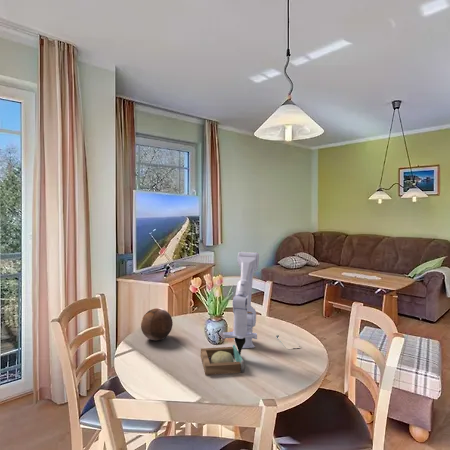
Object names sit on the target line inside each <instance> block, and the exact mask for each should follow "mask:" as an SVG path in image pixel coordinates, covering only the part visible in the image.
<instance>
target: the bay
mask: <svg viewBox="0 0 450 450" xmlns="http://www.w3.org/2000/svg"><path fill="white" fill-rule="evenodd" d="M218 351H224V352H229V353H230V354H231V355H232V356H233V346H223V347H222V346H220V347H219V346H218V347H206V348H204V347H203V348H200V359H201V364H202V367H203V371H204V375H205V376H212V375H214V376H215V375H226V374H239V373H242V372H241V363H240V362H236V361H233V362H226V363H212V362H211V361H210V359H211V357H212V355H213V354H214V353H216V352H218ZM233 357H234V356H233Z"/></svg>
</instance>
